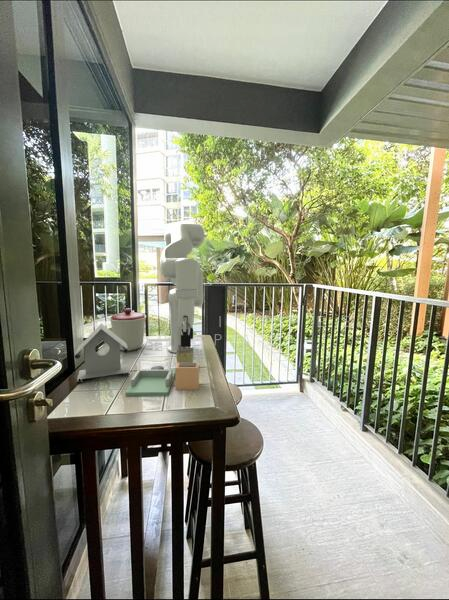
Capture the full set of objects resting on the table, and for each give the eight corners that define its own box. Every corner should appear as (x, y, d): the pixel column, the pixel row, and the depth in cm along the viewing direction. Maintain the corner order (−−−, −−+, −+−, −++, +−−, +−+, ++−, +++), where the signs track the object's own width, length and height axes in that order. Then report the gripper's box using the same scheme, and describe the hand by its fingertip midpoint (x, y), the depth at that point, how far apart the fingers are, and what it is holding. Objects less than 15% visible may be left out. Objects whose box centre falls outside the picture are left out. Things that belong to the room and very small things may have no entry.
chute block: (177, 383, 101) (177, 361, 100) (199, 383, 101) (199, 361, 100) (175, 389, 96) (175, 367, 95) (198, 389, 96) (198, 367, 95)
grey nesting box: (76, 384, 99) (72, 331, 96) (78, 374, 108) (75, 325, 105) (129, 376, 106) (127, 326, 104) (127, 367, 115) (125, 321, 112)
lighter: (192, 364, 119) (191, 342, 118) (194, 367, 115) (194, 345, 114) (175, 366, 117) (175, 344, 115) (177, 370, 113) (177, 346, 112)
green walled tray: (141, 372, 110) (141, 363, 110) (176, 371, 111) (176, 363, 110) (125, 395, 91) (125, 385, 90) (167, 395, 91) (167, 385, 91)
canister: (151, 343, 151) (150, 305, 148) (141, 353, 133) (140, 311, 130) (118, 342, 151) (116, 305, 148) (104, 353, 133) (102, 311, 130)
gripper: (179, 292, 102) (179, 336, 104) (171, 296, 85) (172, 350, 87) (199, 292, 102) (199, 336, 104) (195, 297, 85) (196, 349, 87)
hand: (187, 342), depth 96 cm, fingers open, 9 cm apart
